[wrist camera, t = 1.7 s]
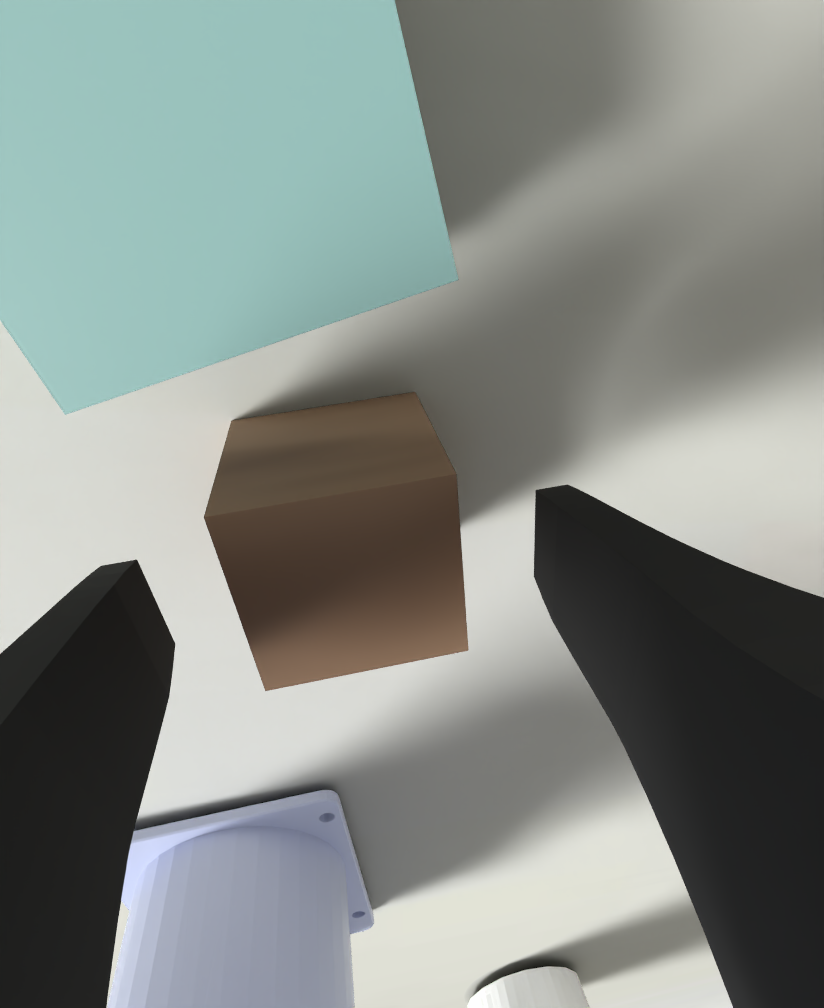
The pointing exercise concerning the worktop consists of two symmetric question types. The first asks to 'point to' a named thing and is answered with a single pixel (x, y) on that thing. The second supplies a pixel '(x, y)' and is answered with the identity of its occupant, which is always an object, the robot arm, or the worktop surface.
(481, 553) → the worktop surface
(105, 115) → the mid slab
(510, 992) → the cup
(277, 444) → the walnut cube
